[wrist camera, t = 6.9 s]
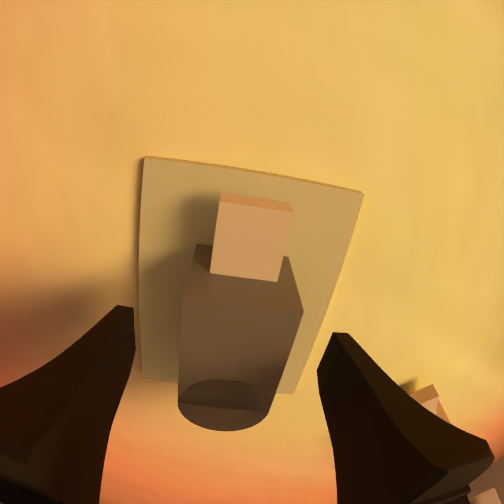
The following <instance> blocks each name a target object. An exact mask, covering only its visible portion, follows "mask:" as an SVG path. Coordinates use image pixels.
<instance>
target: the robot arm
mask: <svg viewBox="0 0 504 504" xmlns="http://www.w3.org/2000/svg"><path fill="white" fill-rule="evenodd" d="M135 350H136V348H135V332H134V309H133V308H131V307H126V306H120V305H117V306H115V307H114V308H113V309H112V310H111V311H110V312H109V313H108V314H107V315H105V316H104V317H103V318H102V319H101V320H100V321H99V322H98V323H97V324H96V325H95V326H94V327H92V328H91V329H90V330H89V331H88V332H87V333H86V334H84V335H83V336H82V337H81V338H80V339H79V340H77V341H76V342H75V343H74V344H72V345H71V346H70V347H69V348H67V349H66V350H65V351H64V352H62V353H61V354H60V355H58V356H57V357H56V358H54V359H53V360H51V361H50V362H48V363H47V364H45V365H44V366H42V367H40V368H39V369H37V370H35V371H33V372H32V373H30V374H28V375H26V376H24V377H22V378H20V379H19V380H17V381H14V382H12V383H10V384H8V385H6V386H3V387H1V388H0V504H99V498H100V489H101V480H102V473H103V466H104V460H105V454H106V449H107V444H108V439H109V434H110V430H111V426H112V423H113V420H114V417H115V414H116V411H117V408H118V406H119V403H120V400H121V397H122V394H123V392H124V389H125V386H126V383H127V381H128V378H129V375H130V372H131V367H132V363H133V359H134V355H135ZM317 377H318V387H319V394H320V398H321V402H322V406H323V410H324V414H325V418H326V422H327V426H328V430H329V434H330V438H331V442H332V447H333V453H334V462H335V471H336V484H337V504H501V503H500V500H499V498H498V495H497V493H496V490H495V489H494V488H492V489H490V490H488V491H486V492H483V493H481V494H479V495H477V496H475V497H473V498H471V499H470V500H468V497H467V494H469V493H470V491H471V490H470V487H469V485H468V484H470V483H471V482H472V481H473V480H475V479H476V478H477V477H478V476H480V475H481V474H482V473H483V472H484V471H485V470H487V469H488V468H489V467H490V465H491V464H492V463H493V461H494V455H493V453H492V451H491V449H490V447H489V445H488V443H487V441H486V440H484V439H482V438H479V437H477V436H474V435H472V434H470V433H467V432H465V431H463V430H461V429H459V428H457V427H455V426H453V425H451V424H450V423H448V422H446V421H445V420H443V419H441V418H440V417H438V416H437V415H435V414H434V413H432V412H431V411H429V410H428V409H426V408H425V407H423V406H422V405H421V404H419V403H418V402H417V401H416V400H414V399H413V398H412V397H411V396H409V395H408V394H407V393H406V392H405V391H404V390H402V389H401V388H400V387H399V386H398V385H397V384H396V383H395V382H394V381H393V380H392V379H391V378H390V377H389V376H388V375H387V374H386V373H385V372H384V371H383V370H382V369H381V368H380V367H379V366H378V365H377V364H376V363H375V362H374V361H373V360H372V358H371V357H370V356H369V355H368V354H367V353H366V352H365V351H364V350H363V349H362V347H361V346H360V345H359V344H358V343H357V342H356V341H355V340H354V339H353V338H352V337H351V336H350V335H349V334H348V333H337V332H333V333H332V336H331V338H330V341H329V343H328V345H327V348H326V350H325V353H324V355H323V357H322V359H321V362H320V364H319V366H318V369H317Z"/></svg>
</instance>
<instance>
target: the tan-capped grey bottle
mask: <svg viewBox="0 0 504 504" xmlns="http://www.w3.org/2000/svg"><path fill="white" fill-rule="evenodd" d="M293 214H294V212H293V210H292V208H291V206H290V204H289V203H288V202H282V201H276V200H270V199H264V198H258V197H251V196H245V195H238V194H231V193H225V192H221V197H220V202H219V209H218V216H217V223H216V230H215V237H214V244H213V246H210V245H203V244H196V248H195V252H194V255H193V259H192V263H191V267H190V271H189V274H188V278H187V282H186V286H185V290H184V294H183V302H182V317H181V333H180V352H179V376H178V407H179V410H180V412H181V413H182V415H183V416H184V417H185V418H186V419H188V420H189V421H190V422H192V423H194V424H196V425H198V426H200V427H203V428H206V429H210V430H216V431H237V430H242V429H246V428H249V427H252V426H254V425H256V424H258V423H259V422H261V421H262V420H263V419H264V418H265V417H266V416H267V414H268V412H269V410H270V407H271V404H272V402H273V399H274V396H275V394H276V391H277V388H278V386H279V383H280V380H281V377H282V374H283V372H284V369H285V366H286V363H287V360H288V358H289V355H290V352H291V349H292V346H293V343H294V340H295V337H296V334H297V331H298V328H299V325H300V322H301V319H302V316H303V313H304V310H303V306H302V303H301V299H300V296H299V292H298V289H297V285H296V282H295V278H294V275H293V271H292V268H291V264H290V261H289V257H287V256H284V252H285V248H286V244H287V240H288V235H289V231H290V227H291V223H292V218H293Z"/></svg>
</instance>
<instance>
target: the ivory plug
mask: <svg viewBox="0 0 504 504" xmlns="http://www.w3.org/2000/svg"><path fill="white" fill-rule="evenodd" d="M409 396H411V397H412V398H413V399H414V400H416V401H417V402H418V403H419V404H421V405H422V406H423V407H425V408H426V409H428V410H429V411H431V412H432V413H434V414H435V415H437V416H438V417H440V418H441V419H443V420H445V421H446V422H448V423H450V421H449V419H448V417H447V415H446V413H445V411H444V409H443V407H442V405H441V403H440V402H439V400H438V398H439V395H438V393H437V391H436V389H435V388H434V386H433V384H432V385H429V386H427V387H425V388H423V389H420V390H418V391H416V392H413V393H411V394H409ZM450 424H451V423H450Z"/></svg>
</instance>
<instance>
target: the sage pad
mask: <svg viewBox="0 0 504 504" xmlns="http://www.w3.org/2000/svg"><path fill="white" fill-rule="evenodd" d="M221 192H225V193H231V194H238V195H245V196H251V197H258V198H264V199H270V200H276V201H282V202H288V203H289V204H290V206H291V208H292V210H293V212H294V214H293V218H292V223H291V227H290V231H289V235H288V240H287V244H286V248H285V252H284V256H287V257H289V261H290V264H291V268H292V271H293V275H294V278H295V282H296V285H297V289H298V292H299V296H300V299H301V303H302V306H303V310H304V313H303V316H302V319H301V322H300V325H299V328H298V331H297V334H296V337H295V340H294V343H293V346H292V349H291V352H290V355H289V358H288V360H287V363H286V366H285V369H284V372H283V374H282V377H281V380H280V383H279V386H278V388H277V391H276V393H279V394H294V391H295V389H296V387H297V384H298V382H299V380H300V377H301V375H302V372H303V370H304V367H305V365H306V363H307V360H308V358H309V355H310V353H311V350H312V348H313V345H314V342H315V340H316V337H317V335H318V332H319V329H320V327H321V324H322V321H323V319H324V316H325V313H326V311H327V308H328V305H329V302H330V299H331V297H332V294H333V291H334V288H335V285H336V282H337V279H338V277H339V274H340V271H341V268H342V265H343V262H344V259H345V255H346V252H347V249H348V246H349V243H350V240H351V237H352V233H353V230H354V227H355V224H356V220H357V217H358V214H359V210H360V207H361V203H362V200H363V196H364V194H363V193H362V192H361V191H356V190H352V189H348V188H343V187H338V186H334V185H329V184H324V183H319V182H314V181H309V180H304V179H299V178H294V177H288V176H283V175H277V174H272V173H266V172H260V171H254V170H248V169H242V168H236V167H229V166H222V165H215V164H208V163H201V162H193V161H186V160H178V159H169V158H160V157H151V156H147V157H145V158H144V168H143V180H142V194H141V211H140V234H139V324H140V346H141V363H142V377H144V378H150V379H156V380H161V381H168V382H174V383H178V376H179V352H180V333H181V317H182V302H183V294H184V290H185V286H186V282H187V278H188V274H189V271H190V267H191V263H192V259H193V255H194V252H195V248H196V244H203V245H210V246H213V244H214V237H215V230H216V223H217V216H218V209H219V202H220V197H221Z"/></svg>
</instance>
